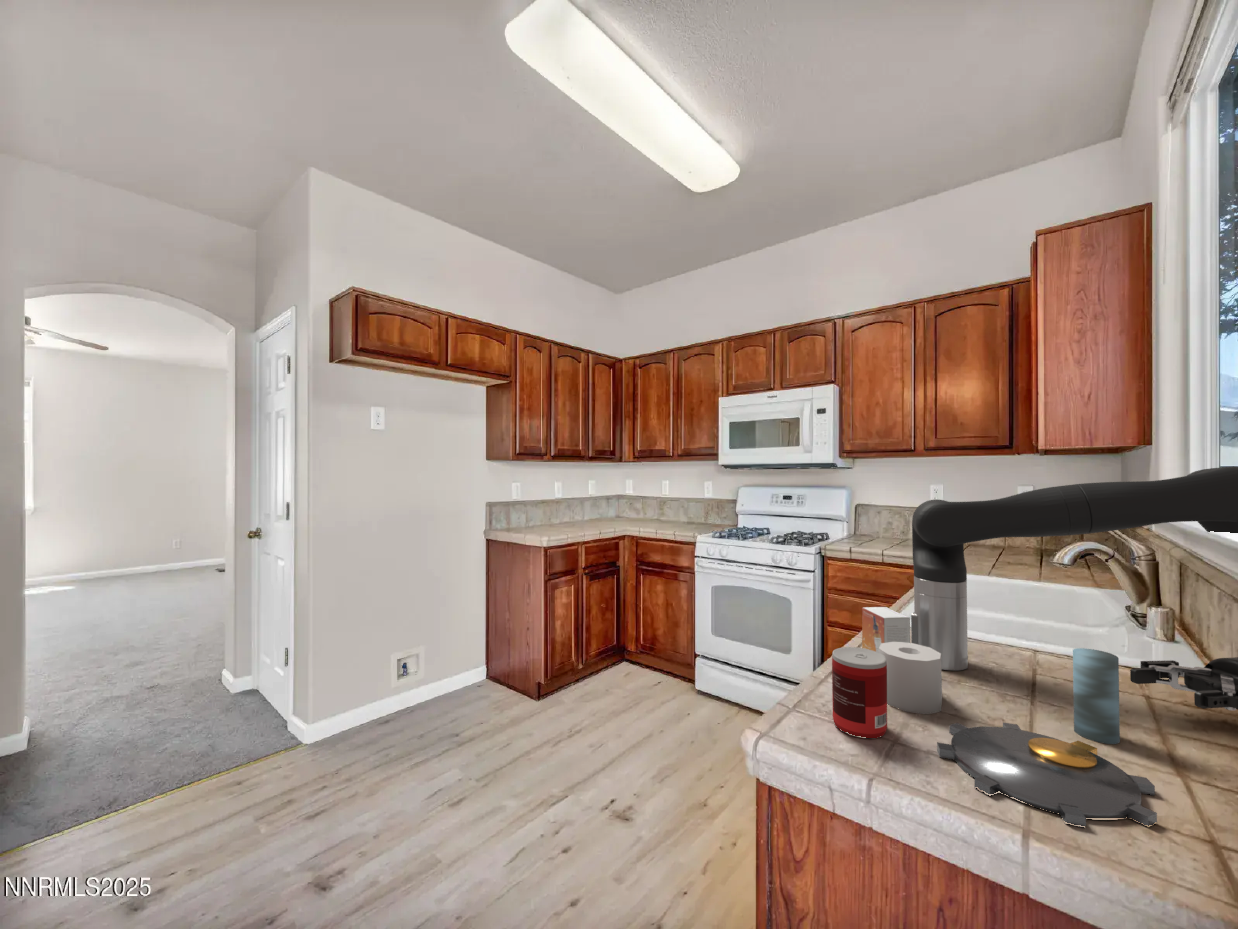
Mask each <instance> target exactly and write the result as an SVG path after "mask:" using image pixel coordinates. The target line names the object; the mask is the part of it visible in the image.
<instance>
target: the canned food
mask: <svg viewBox="0 0 1238 929" xmlns="http://www.w3.org/2000/svg"><path fill="white" fill-rule="evenodd" d="M831 677H832V678H831V682H832V684H831V687H832V688H831V690H832V693H831V694H832V696H831V697H832V698H831V699H832V701H831V702H832V720H833V723H835V724H834V725H836V726H837V727H838V728H839V729H841V730H842V731H844V732H848V733H849V734H852V735H855V736H861V737H866V738H876V739H878V738H877V737H879V738H881V737H880V736H882V737H883V736H884V735H885V734H886V732H887V729H888V705H887V662H886V658H885V657H884V656H883V655H882V654H880V653H878V652H875V651H872V650H869V649H864V648H862V647H858V646H857V647H856V646H846V647H845V646H843V647H839V648H835V649H834V650H833V651H832V655H831ZM836 726H835V727H836ZM837 727H836V728H837ZM838 728H837V729H838ZM839 729H838V730H839ZM841 730H840V731H841ZM842 731H841V732H842ZM844 732H843V733H844Z"/></svg>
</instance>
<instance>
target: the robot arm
mask: <svg viewBox="0 0 1238 929" xmlns="http://www.w3.org/2000/svg"><path fill="white" fill-rule="evenodd" d="M911 520H912V522H911V531H912V532H911V535H912V538H911V539H912V540H911V541H912V564H913V565H912V566H913V600H914V602H913V603H914V604H913V605H914V607H913V613H911V615H910V643H914V644H918V645H922V646H926V647H930V648H932V649H934V650H935V651H937V652H939V653H941V670H943V671H944V670H945V671H963V670H966V669H968V667H969V665H968V664H969V663H968V662H969V655H968V651H969V650H968V646H969V645H968V643H969V641H968V591H967V590H968V589H967V588H968V586H967V585H968V572H967V571H968V569H967V566H966V565H967V564H966V560H965V559H966V558H965V553H964V552H965V551H964V546H965V545H964V544H968V543H974V542H981V541H986V540H987V541H988V540H992V539H993V540H995V539H1001V538H1040V537H1046V538H1047V537H1066V536H1076V535H1087V534H1088V535H1089V534H1097V533H1105V532H1106V533H1107V532H1114V531H1120V530H1129V529H1135V528H1141V527H1146V526H1152V525H1159V524H1167V523H1179V522H1180V523H1181V522H1197V523H1198V525H1201V527H1202V528H1203V529H1204V530H1205V531H1206V532H1207V533H1208V532H1210V531H1214V532H1230V533H1238V466H1223V467H1220V466H1219V467H1214V468H1213V467H1211V468H1204V469H1200V470H1195V471H1193V472H1191V473H1189V474H1187V475H1184V476H1178V477H1173V478H1166V479H1165V478H1164V479H1160V480H1159V479H1158V480H1145V481H1144V480H1143V481H1141V480H1140V481H1105V482H1086V483H1085V482H1084V483H1074V484H1066V485H1057V486H1049V487H1044V488H1038V489H1033V490H1029V491H1024V492H1021V493H1017V494H1014V495H1013V494H1012V495H1010V496H1006V497H1001V498H996V499H990V500H974V501H973V500H972V501H971V500H970V501H948V500H943V499H930V500H926V501H924V502H922V503H921V504H919V505H918V506H917V507H916V509H915V510H914V511H913V514H912V519H911ZM1129 674H1130V675H1129V676H1130V677H1129V679H1130V681H1131V683H1133V684H1137V685H1143V684H1144V685H1147V684H1161V685H1169V686H1170V687H1172V689H1175V690H1180V691H1184V692H1186V691H1187V692H1192V693H1194V695H1193V696H1194V697H1193V698H1194V705H1195V707H1197V708H1200V709H1202V710H1204V709H1222V708H1223V709H1225V710H1228V711H1238V657H1237V656H1236V657H1219V658H1215V659H1213V660H1210V661H1209V662H1208V663H1207V664H1206V665H1205V666H1204V667H1201V666H1193V667H1191V666H1182V665H1180V663H1179V662H1178V661H1176V660H1171V659H1170V660H1140V667H1138V668H1137V667H1135V668H1131V669H1130V671H1129ZM1180 677H1183V679H1184V680H1183V682H1184V684H1180V683H1179V678H1180Z"/></svg>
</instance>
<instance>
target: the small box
mask: <svg viewBox="0 0 1238 929" xmlns="http://www.w3.org/2000/svg"><path fill="white" fill-rule="evenodd" d="M861 609H862V610H861V611H862V616H861V619H862V622H861V623H862V625H861V626H862V627H861V628H862V629H861V632H862V633H861V635H862V636H861V648H864V649H869V650H872V651H875V652H878V653H879V647H880V645H881V643H888V642H905V643H911V616H908V615H904V614H902V613H900V612H897V611H895V610H893V609H891V608H889V607H887V606H871V607H869V606H866V607H862V608H861Z"/></svg>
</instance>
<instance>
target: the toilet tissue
mask: <svg viewBox="0 0 1238 929" xmlns="http://www.w3.org/2000/svg"><path fill="white" fill-rule="evenodd" d="M879 653H880V654H882V655H883V656H884V657H885V658H886V662H887V704H888V705H891V706H894V707H896V708H895V709H897V708H899V709H898V710H900V709H901V711H902V712H903V711H904V712H905V713H913V714H914V713H915V714H921V715H922V714H923V715H931V714H936V713H939V712H941V711H942V702H943V682H942V680H943V678H942V669H941V653H939V652H937V651H935V650H934V649H932V648H930V647H926V646H922V645H918V644H914V643H911V642H910V643H905V642H888V643H881V645H880V647H879ZM888 705H887V706H888ZM891 706H890V707H891ZM894 707H893V708H894Z"/></svg>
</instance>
